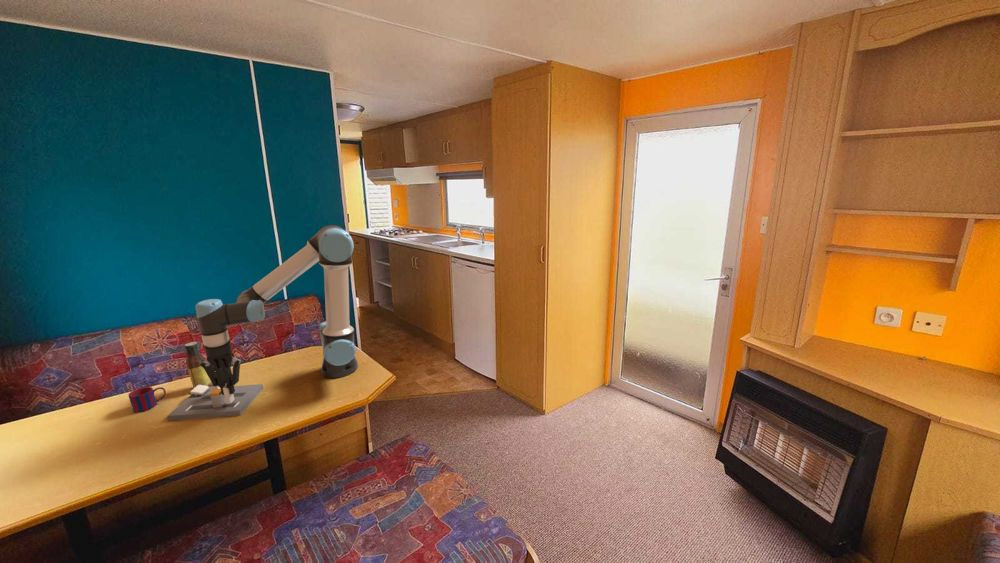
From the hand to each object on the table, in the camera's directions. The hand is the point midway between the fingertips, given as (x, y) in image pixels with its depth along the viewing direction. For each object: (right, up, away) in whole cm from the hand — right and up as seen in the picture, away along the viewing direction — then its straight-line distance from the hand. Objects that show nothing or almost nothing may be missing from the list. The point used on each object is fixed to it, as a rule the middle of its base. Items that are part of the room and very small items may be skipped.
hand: (230, 401), depth 142 cm
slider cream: (-9, 0, +6) cm, 11 cm away
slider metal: (-4, -1, 0) cm, 4 cm away
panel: (-8, -2, +5) cm, 10 cm away
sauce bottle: (-22, 0, +16) cm, 27 cm away
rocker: (-18, +1, +9) cm, 20 cm away
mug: (-33, -3, +4) cm, 33 cm away
